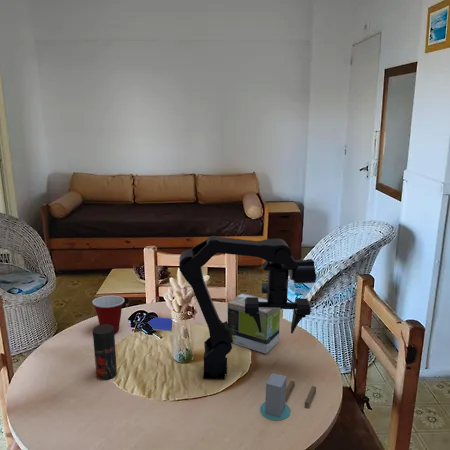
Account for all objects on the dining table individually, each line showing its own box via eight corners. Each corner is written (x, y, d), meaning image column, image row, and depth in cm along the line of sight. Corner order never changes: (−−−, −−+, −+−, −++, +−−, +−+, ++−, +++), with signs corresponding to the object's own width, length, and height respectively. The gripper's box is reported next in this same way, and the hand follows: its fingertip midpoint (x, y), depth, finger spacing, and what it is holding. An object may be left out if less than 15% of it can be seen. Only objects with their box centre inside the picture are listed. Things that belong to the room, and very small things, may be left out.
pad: (260, 420, 118) (260, 419, 118) (259, 400, 125) (259, 399, 125) (292, 420, 117) (292, 420, 117) (288, 400, 125) (288, 400, 125)
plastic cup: (131, 325, 166) (129, 295, 162) (117, 340, 155) (115, 308, 152) (103, 322, 168) (101, 291, 165) (88, 336, 158) (86, 304, 154)
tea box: (279, 341, 156) (281, 301, 152) (265, 355, 147) (267, 313, 143) (241, 329, 163) (242, 291, 159) (226, 342, 155) (226, 301, 151)
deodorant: (120, 374, 137) (118, 328, 132) (103, 383, 132) (100, 336, 128) (109, 366, 140) (106, 322, 136) (92, 374, 136) (88, 329, 132)
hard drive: (137, 326, 163) (171, 328, 161) (144, 315, 171) (176, 318, 169) (137, 330, 163) (171, 333, 162) (144, 319, 171) (176, 322, 170)
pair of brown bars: (282, 400, 125) (282, 396, 125) (290, 384, 132) (290, 380, 132) (308, 408, 122) (309, 403, 122) (315, 391, 129) (316, 386, 129)
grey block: (265, 413, 120) (266, 383, 118) (271, 402, 124) (272, 373, 122) (279, 417, 118) (281, 387, 116) (285, 406, 123) (286, 376, 120)
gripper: (307, 273, 138) (304, 320, 143) (245, 272, 139) (244, 318, 143) (312, 288, 128) (309, 338, 132) (245, 286, 128) (244, 337, 133)
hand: (275, 332), depth 135 cm, fingers open, 9 cm apart
